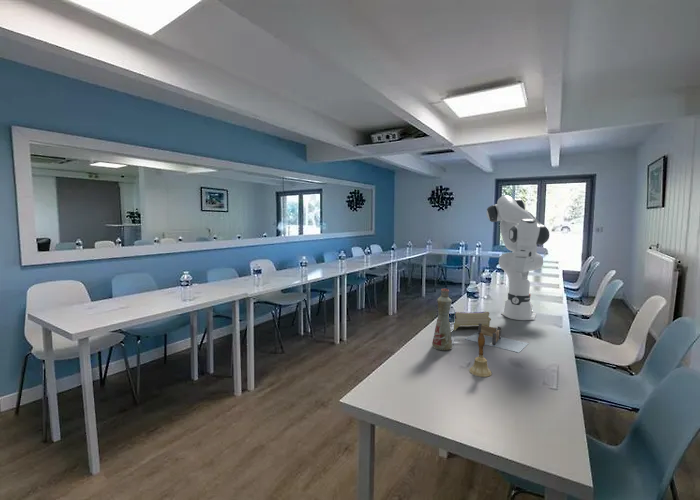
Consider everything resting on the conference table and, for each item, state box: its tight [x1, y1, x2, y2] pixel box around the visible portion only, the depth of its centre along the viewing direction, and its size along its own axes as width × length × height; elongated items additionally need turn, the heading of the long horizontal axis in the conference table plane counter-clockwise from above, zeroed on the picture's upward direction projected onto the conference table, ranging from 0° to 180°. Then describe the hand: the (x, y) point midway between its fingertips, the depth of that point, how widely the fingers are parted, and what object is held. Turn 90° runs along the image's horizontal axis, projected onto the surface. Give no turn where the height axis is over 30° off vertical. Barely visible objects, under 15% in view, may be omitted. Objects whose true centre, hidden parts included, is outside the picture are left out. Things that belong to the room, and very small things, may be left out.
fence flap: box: [492, 329, 499, 345], centre depth 173 cm, size 9×2×5 cm, turn 146°
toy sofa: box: [453, 311, 492, 331], centre depth 194 cm, size 21×9×10 cm, turn 97°
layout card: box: [465, 331, 530, 354], centre depth 174 cm, size 15×25×1 cm, turn 48°
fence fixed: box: [477, 323, 502, 339], centre depth 181 cm, size 2×11×6 cm, turn 49°
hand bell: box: [468, 332, 492, 378], centre depth 140 cm, size 8×8×16 cm
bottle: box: [431, 288, 453, 352], centre depth 164 cm, size 9×9×28 cm
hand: (524, 279), depth 179 cm, fingers closed
